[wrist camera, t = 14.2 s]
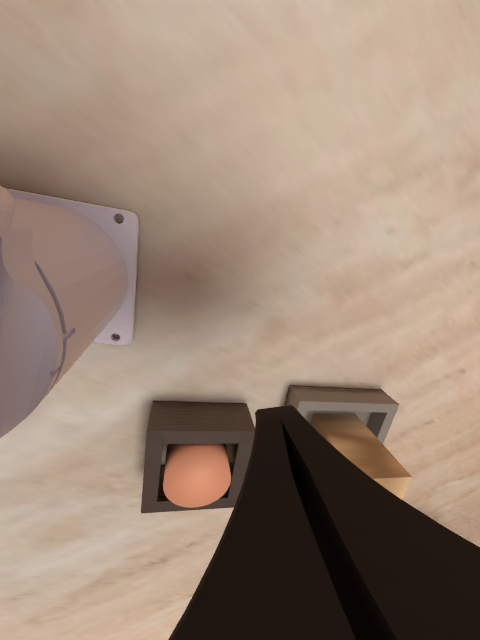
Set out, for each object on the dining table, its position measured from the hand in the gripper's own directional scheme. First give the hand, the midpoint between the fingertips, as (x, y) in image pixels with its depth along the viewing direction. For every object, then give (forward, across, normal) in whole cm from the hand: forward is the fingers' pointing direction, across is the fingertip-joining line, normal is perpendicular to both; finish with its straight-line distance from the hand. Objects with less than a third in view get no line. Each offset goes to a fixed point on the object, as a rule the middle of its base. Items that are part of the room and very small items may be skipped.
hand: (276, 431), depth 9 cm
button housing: (+10, +5, +8) cm, 13 cm away
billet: (+10, -6, +10) cm, 15 cm away
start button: (+9, +5, +8) cm, 13 cm away
